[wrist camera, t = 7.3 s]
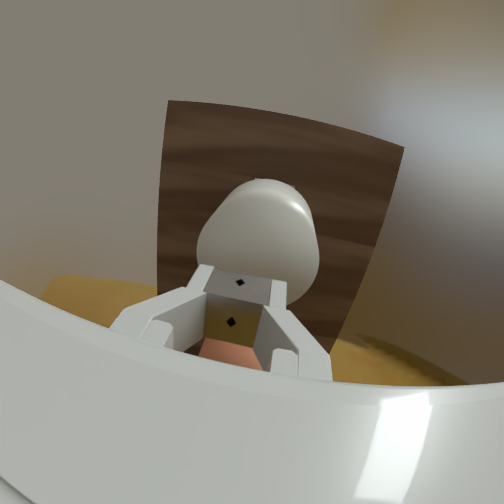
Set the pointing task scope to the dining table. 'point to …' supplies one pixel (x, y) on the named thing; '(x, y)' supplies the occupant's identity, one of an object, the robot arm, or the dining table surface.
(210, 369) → the robot arm
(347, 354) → the dining table surface
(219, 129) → the plug panel
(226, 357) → the terracotta plug
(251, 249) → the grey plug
